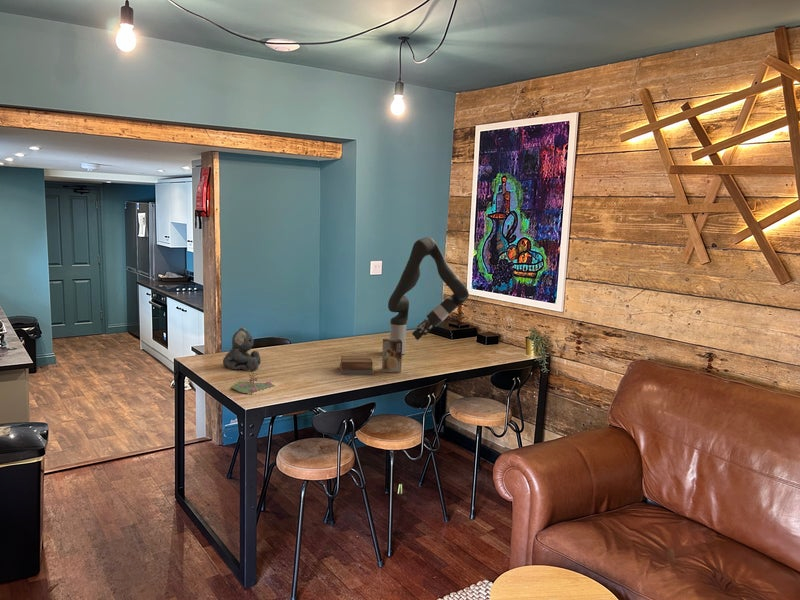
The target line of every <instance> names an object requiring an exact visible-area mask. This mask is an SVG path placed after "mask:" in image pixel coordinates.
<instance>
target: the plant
mask: <svg viewBox="0 0 800 600" xmlns="http://www.w3.org/2000/svg"><path fill="white" fill-rule="evenodd" d="M248 375H249V382H248V381H238V382H237V384H236V383H234V384H232V386H230V388H231V389H233V390H235V391H237V392H239V393H243V394H245V393H254V392H257V391H260V390H264V389H267V388H271V387H274V386H275V385H273V384H272V383H271V382H272V381H268V382H266V383H254V381H258V379H257V378H259V376H257V374H255V373H254V370H252V371H251V373H248ZM256 376H257V377H256Z"/></svg>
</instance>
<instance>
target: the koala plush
mask: <svg viewBox="0 0 800 600" xmlns="http://www.w3.org/2000/svg"><path fill="white" fill-rule="evenodd" d="M256 344H257V343H256V340H255V339H254V338H253V336H252V335H251V334H250V332H249V331H248V330H247V329H246V328H245V327H242V326H241V327H240V328H239V329H238V330H237V331H236V332H235V333H234V334H233V335H232V339H231V345H232V347H231V349H230V350H229V351H228V352H227V353H226V354H225V356H224V357H223V359H222V363H223V366H224V367H225V368H228V369H230V370H233V369H235V370H234V371H237V369H238V370H240V369H243V370H242V371H245V370H246V371H247V370H253V371H256V370H258V369H259V365H260V364H261V360H262V359H261V356H260V352H259V351H258V350H253V351H251V353H249V351H250V350H251V349H252V348H254V346H256Z"/></svg>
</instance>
